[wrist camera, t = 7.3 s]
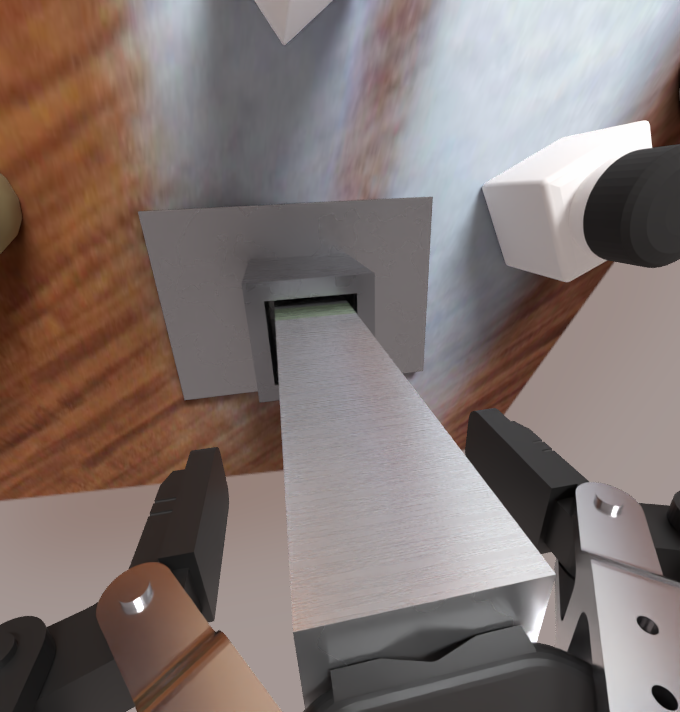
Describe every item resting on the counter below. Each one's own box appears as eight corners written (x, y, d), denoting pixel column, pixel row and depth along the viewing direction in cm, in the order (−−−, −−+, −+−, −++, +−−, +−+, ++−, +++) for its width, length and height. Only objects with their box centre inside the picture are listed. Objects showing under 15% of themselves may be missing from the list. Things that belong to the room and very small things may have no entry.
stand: (426, 196, 27) (508, 196, 18) (417, 365, 33) (477, 431, 24) (143, 211, 25) (66, 218, 15) (187, 392, 30) (151, 481, 21)
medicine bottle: (504, 267, 31) (633, 304, 20) (479, 185, 28) (613, 176, 17) (580, 223, 31) (752, 237, 20) (562, 135, 28) (754, 95, 17)
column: (341, 294, 22) (555, 574, 6) (344, 355, 23) (515, 711, 7) (274, 299, 21) (293, 632, 5) (281, 362, 23) (313, 767, 7)
